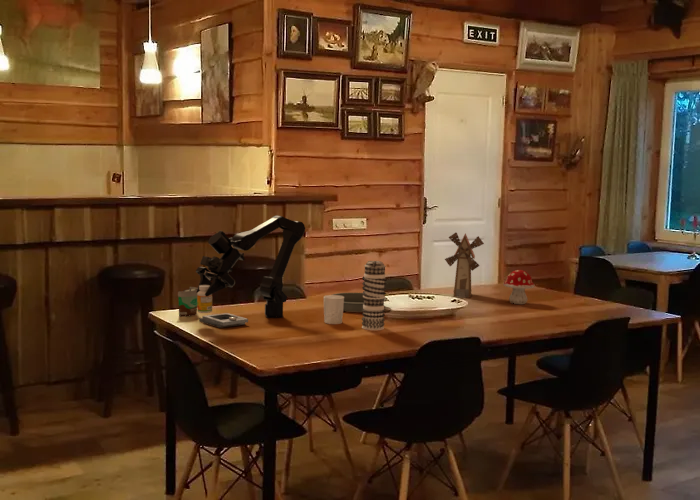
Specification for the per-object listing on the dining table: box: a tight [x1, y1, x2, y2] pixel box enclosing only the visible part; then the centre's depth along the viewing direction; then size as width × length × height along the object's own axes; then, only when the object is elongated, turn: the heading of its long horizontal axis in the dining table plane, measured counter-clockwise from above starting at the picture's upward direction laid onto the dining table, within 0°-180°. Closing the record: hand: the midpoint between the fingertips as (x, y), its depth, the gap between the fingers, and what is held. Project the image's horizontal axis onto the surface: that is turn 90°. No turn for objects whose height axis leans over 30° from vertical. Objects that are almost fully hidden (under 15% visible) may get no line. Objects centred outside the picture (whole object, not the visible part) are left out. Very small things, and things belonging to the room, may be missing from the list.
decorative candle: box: [361, 260, 388, 331], centre depth 307 cm, size 9×9×25 cm
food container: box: [177, 286, 198, 317], centre depth 323 cm, size 12×6×10 cm, turn 168°
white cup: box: [323, 294, 344, 325], centre depth 316 cm, size 8×8×10 cm
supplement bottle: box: [197, 285, 213, 314], centre depth 302 cm, size 5×5×10 cm
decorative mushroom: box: [502, 269, 535, 305], centre depth 369 cm, size 14×14×15 cm
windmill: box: [444, 232, 485, 299], centre depth 383 cm, size 18×13×30 cm
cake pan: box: [331, 292, 387, 313], centre depth 349 cm, size 25×25×4 cm
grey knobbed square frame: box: [198, 312, 249, 329], centre depth 309 cm, size 16×11×3 cm
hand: (201, 294), depth 301 cm, fingers closed on supplement bottle, 5 cm apart
